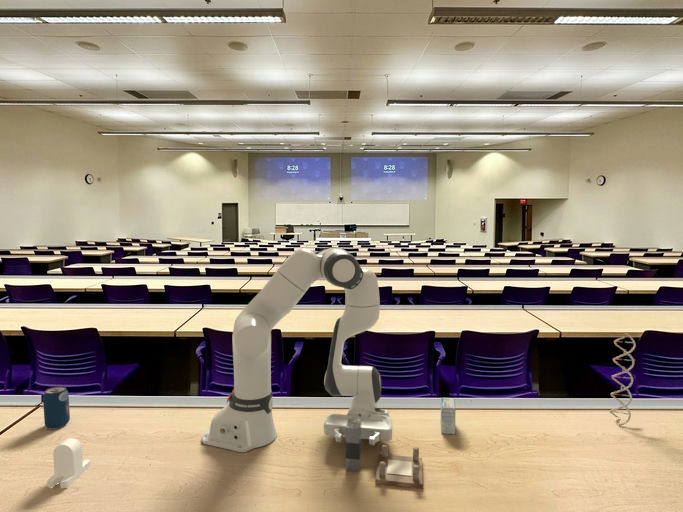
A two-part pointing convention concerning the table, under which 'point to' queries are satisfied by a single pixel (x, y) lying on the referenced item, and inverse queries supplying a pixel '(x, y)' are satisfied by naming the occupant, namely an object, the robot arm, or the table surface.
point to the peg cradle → (399, 469)
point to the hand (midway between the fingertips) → (355, 441)
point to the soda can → (56, 407)
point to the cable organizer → (67, 463)
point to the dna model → (624, 377)
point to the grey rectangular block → (353, 445)
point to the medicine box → (448, 415)
